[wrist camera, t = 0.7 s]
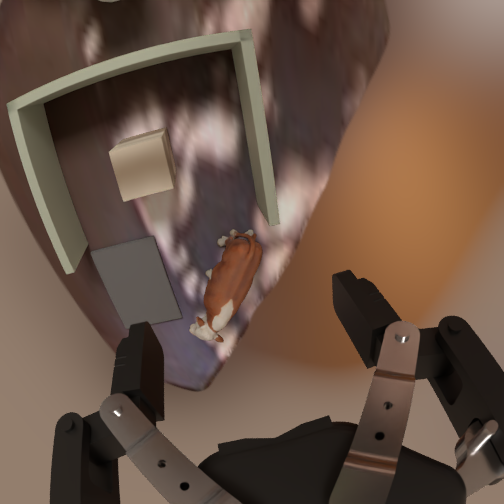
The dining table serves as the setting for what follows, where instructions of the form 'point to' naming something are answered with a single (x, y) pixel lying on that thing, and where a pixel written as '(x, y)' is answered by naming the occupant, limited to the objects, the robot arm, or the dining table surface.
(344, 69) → the dining table surface
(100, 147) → the dining table surface
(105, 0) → the cream cup
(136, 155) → the cream block
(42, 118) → the green u-shaped frame
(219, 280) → the bull figurine
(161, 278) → the grey rectangular plate
